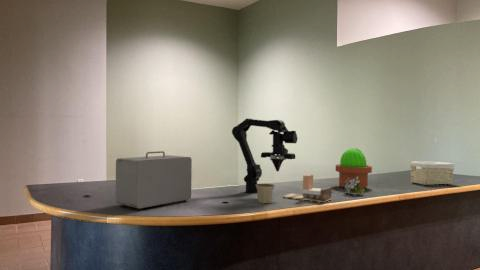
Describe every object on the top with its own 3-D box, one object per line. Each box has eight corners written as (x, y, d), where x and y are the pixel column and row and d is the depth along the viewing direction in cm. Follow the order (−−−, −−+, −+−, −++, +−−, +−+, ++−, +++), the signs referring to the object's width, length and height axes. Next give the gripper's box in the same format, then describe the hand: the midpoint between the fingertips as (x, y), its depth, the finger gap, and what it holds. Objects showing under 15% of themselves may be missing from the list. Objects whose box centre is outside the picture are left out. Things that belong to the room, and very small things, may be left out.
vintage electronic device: (167, 196, 196) (167, 149, 196) (191, 201, 185) (191, 151, 184) (113, 206, 172) (113, 151, 171) (136, 212, 160) (137, 153, 160)
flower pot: (274, 204, 179) (275, 186, 179) (255, 204, 180) (255, 186, 180) (274, 200, 189) (274, 183, 189) (255, 200, 189) (255, 183, 189)
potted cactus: (334, 188, 230) (335, 148, 229) (336, 183, 251) (336, 146, 250) (372, 190, 223) (373, 149, 223) (370, 185, 244) (371, 147, 244)
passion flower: (347, 203, 211) (339, 184, 218) (365, 199, 213) (356, 181, 219) (353, 195, 202) (345, 175, 208) (371, 191, 204) (362, 172, 210)
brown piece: (302, 197, 192) (302, 175, 192) (308, 195, 199) (308, 174, 198) (320, 199, 186) (320, 177, 186) (326, 197, 193) (326, 175, 193)
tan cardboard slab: (282, 197, 197) (282, 185, 197) (291, 195, 205) (291, 183, 205) (324, 203, 184) (324, 189, 184) (331, 200, 193) (331, 187, 192)
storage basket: (437, 181, 268) (437, 161, 267) (455, 185, 252) (455, 163, 252) (408, 182, 262) (408, 161, 262) (425, 185, 246) (425, 163, 246)
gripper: (299, 143, 206) (299, 171, 207) (270, 142, 217) (269, 168, 217) (291, 143, 197) (290, 173, 197) (260, 142, 207) (260, 170, 208)
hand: (277, 171), depth 205 cm, fingers closed
